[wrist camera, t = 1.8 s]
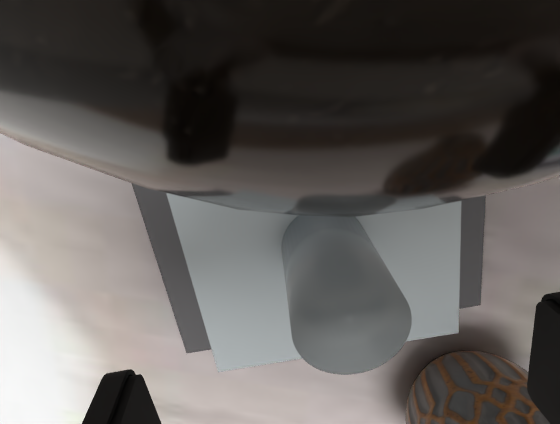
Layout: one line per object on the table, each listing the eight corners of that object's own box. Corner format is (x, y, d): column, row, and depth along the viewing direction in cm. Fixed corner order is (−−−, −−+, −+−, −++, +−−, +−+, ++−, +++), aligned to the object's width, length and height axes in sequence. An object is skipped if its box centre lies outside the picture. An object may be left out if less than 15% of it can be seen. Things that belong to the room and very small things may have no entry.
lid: (450, 77, 14) (572, 93, 9) (448, 318, 19) (529, 433, 13) (155, 127, 14) (92, 175, 9) (220, 356, 19) (204, 484, 13)
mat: (484, 83, 15) (490, 84, 15) (476, 300, 19) (480, 305, 18) (123, 145, 15) (120, 147, 15) (187, 347, 19) (186, 353, 19)
